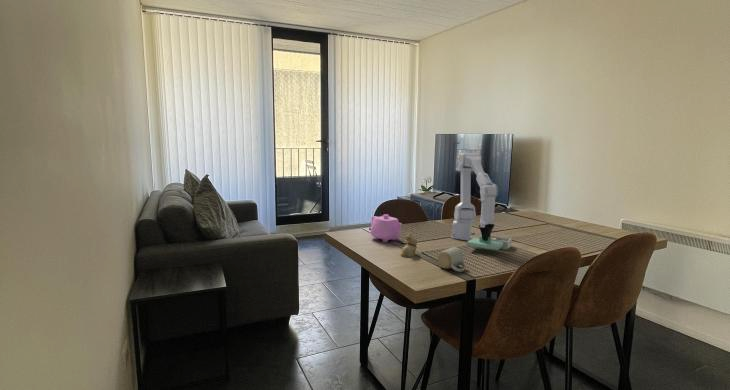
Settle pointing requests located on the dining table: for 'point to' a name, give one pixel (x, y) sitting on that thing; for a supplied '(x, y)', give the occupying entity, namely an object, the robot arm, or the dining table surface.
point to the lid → (485, 243)
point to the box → (505, 242)
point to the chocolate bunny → (409, 246)
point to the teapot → (385, 228)
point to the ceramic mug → (451, 259)
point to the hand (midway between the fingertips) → (485, 240)
